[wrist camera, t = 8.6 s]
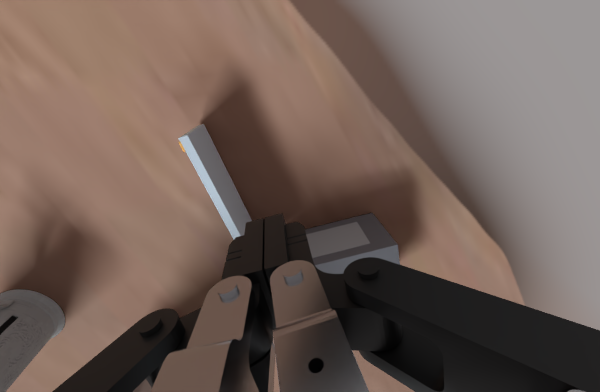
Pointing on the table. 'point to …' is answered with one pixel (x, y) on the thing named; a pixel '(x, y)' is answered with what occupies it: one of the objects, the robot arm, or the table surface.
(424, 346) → the robot arm
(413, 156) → the table surface
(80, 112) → the table surface
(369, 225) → the grey box with knob
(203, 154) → the side door
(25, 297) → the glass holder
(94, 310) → the table surface
